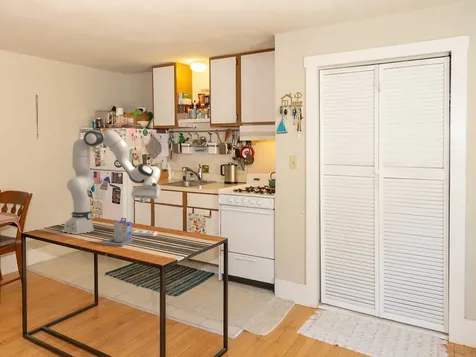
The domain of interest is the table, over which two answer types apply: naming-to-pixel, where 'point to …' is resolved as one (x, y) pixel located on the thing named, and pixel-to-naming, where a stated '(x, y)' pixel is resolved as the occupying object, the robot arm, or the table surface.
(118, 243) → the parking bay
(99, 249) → the table surface
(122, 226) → the ink cartridge box
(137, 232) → the power strip
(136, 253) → the table surface
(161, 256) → the table surface
